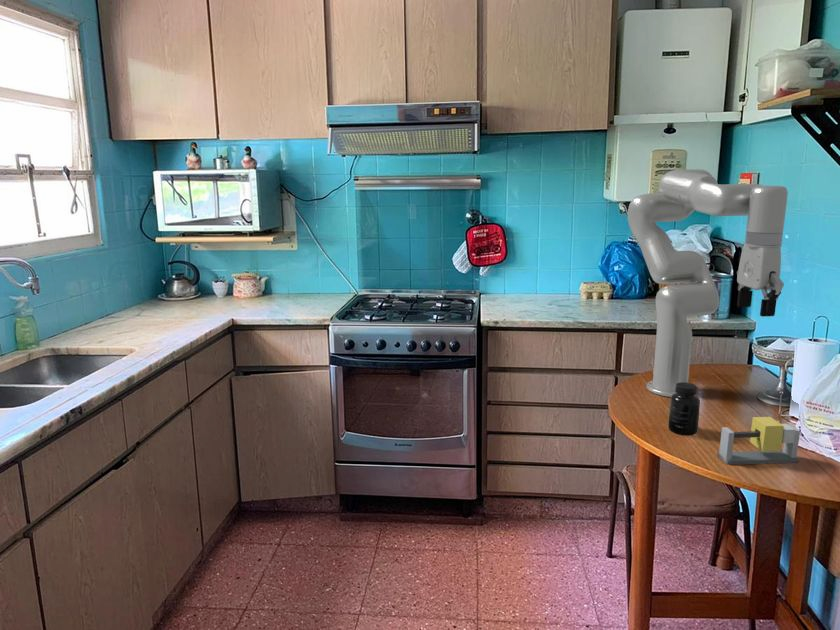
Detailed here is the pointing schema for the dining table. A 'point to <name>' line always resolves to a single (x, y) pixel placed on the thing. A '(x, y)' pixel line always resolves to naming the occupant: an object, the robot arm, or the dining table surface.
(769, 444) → the olive yellow cube
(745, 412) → the dining table surface
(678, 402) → the supplement bottle
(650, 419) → the dining table surface
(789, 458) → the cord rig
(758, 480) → the dining table surface
